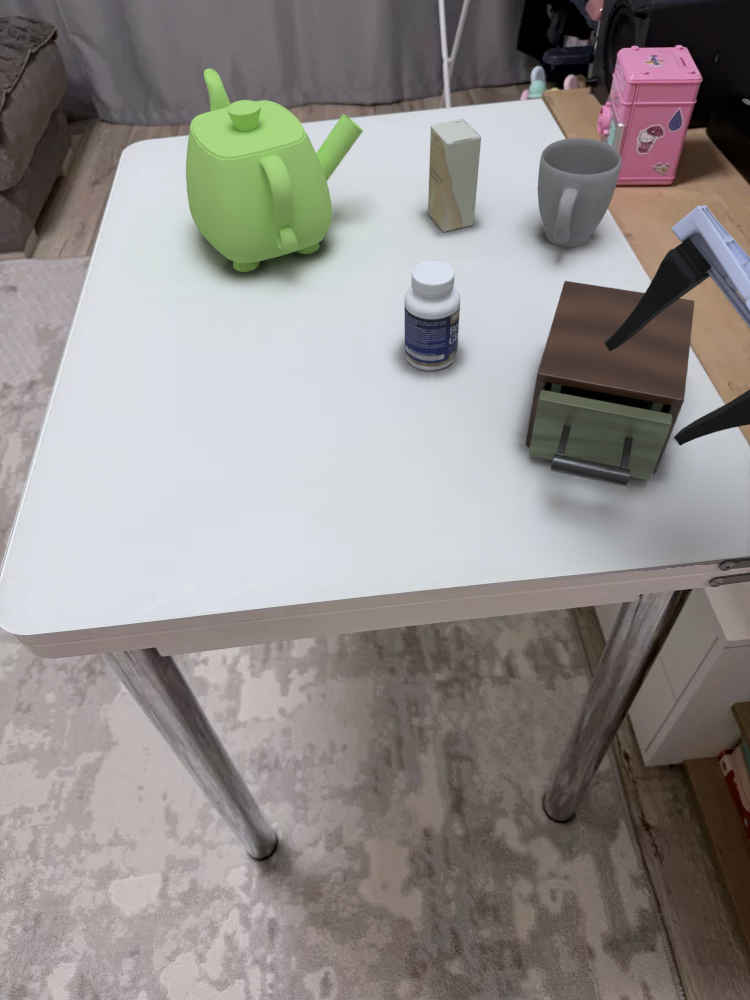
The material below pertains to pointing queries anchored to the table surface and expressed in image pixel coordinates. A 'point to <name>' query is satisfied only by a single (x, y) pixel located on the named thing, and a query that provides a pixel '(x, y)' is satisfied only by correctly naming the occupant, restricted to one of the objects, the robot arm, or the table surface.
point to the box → (453, 174)
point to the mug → (576, 188)
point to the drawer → (598, 434)
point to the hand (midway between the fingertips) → (645, 391)
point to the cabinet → (616, 350)
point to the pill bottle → (431, 316)
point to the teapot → (260, 178)
